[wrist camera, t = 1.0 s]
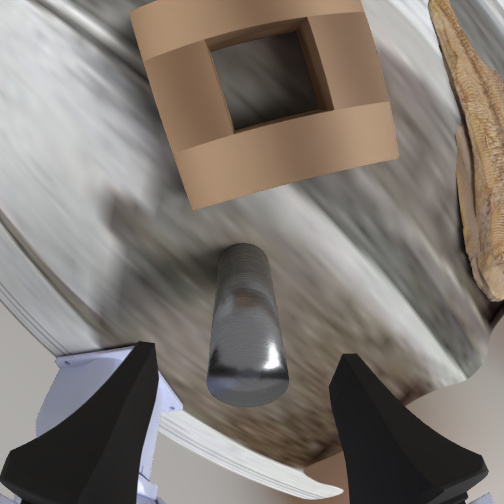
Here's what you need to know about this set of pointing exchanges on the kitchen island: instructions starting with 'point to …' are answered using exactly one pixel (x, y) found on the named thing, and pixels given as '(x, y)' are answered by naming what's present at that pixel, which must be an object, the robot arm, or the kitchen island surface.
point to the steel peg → (246, 332)
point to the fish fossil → (476, 149)
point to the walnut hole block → (274, 131)
